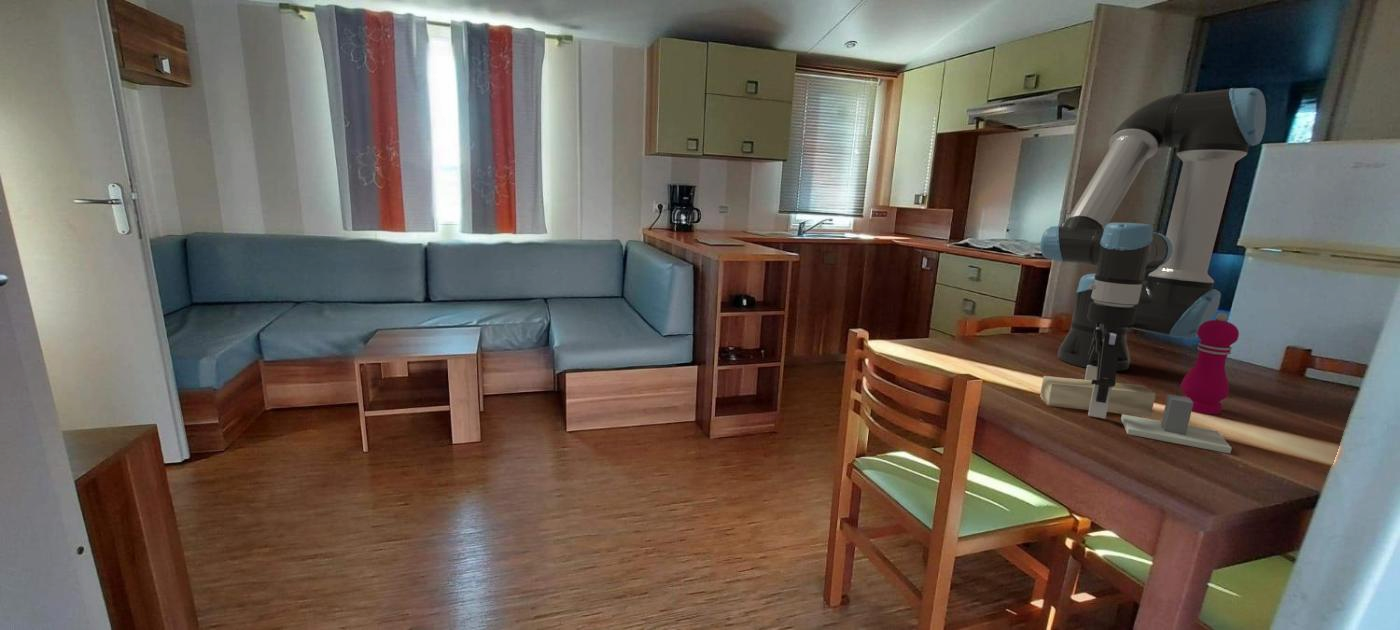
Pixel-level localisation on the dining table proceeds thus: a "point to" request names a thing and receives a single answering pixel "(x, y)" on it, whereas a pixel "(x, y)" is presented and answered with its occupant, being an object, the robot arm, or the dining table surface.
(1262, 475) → the dining table surface
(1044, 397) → the beech bar
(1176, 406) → the stand
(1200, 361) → the pepper mill
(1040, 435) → the dining table surface
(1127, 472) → the dining table surface
